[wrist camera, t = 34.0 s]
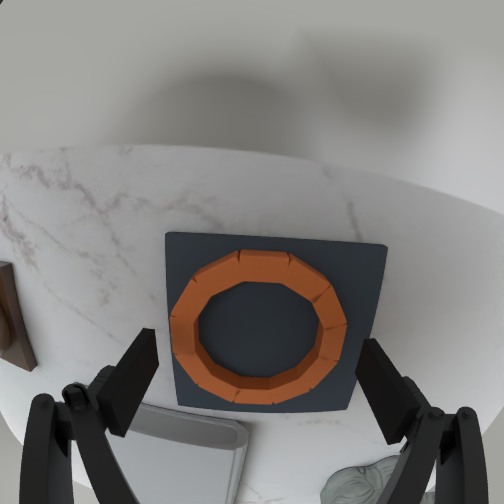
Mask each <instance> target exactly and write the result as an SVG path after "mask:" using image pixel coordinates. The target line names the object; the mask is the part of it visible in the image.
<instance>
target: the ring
mask: <svg viewBox="0 0 504 504" xmlns="http://www.w3.org/2000/svg"><path fill="white" fill-rule="evenodd" d="M243 281H250V282H268V283H282V284H284V285H285V286H287V287H288V288H290V289H292V290H293V291H295V292H296V293H298V294H300V295H301V296H303V297H304V298H306V299H308V300H309V301H311V302H312V304H313V307H314V309H315V311H316V313H317V315H318V318H319V324H318V330H317V336H316V341H315V346H314V347H313V348H312V349H311V351H310V352H309V353H308V354H307V355H306V356H305V357H304V358H303V360H302V361H301V362H300V363H299V364H298V365H297V366H296V367H294V368H292V369H289V370H287V371H284V372H282V373H279V374H277V375H274V376H272V377H269V378H265V377H243V376H239V375H237V374H235V373H233V372H231V371H229V370H227V369H225V368H223V367H221V366H219V365H217V364H215V363H214V362H213V360H212V359H211V358H210V356H209V355H208V353H207V352H206V350H205V349H204V347H203V346H202V345H201V343H200V342H199V327H198V316H199V314H200V313H201V311H202V310H203V308H204V307H205V305H206V304H207V302H208V301H209V299H210V298H211V296H213V295H216V294H218V293H220V292H222V291H224V290H226V289H228V288H231V287H233V286H235V285H237V284H239V283H241V282H243ZM346 322H347V320H346V318H345V315H344V313H343V310H342V308H341V305H340V303H339V301H338V298H337V296H336V293H335V291H334V288H333V286H332V285H331V284H330V282H329V281H328V280H327V279H326V277H325V276H324V275H323V274H321V273H320V272H318V271H317V270H315V269H314V268H312V267H311V266H309V265H308V264H306V263H305V262H303V261H302V260H300V259H298V258H297V257H295V256H294V255H292V254H291V253H289V255H287V253H286V252H280V251H262V250H245V249H242V250H241V252H240V253H239V251H238V250H237V251H234V252H232V253H230V254H228V255H226V256H224V257H222V258H220V259H218V260H216V261H214V262H212V263H210V264H208V265H206V266H204V267H202V268H200V269H199V270H198V272H195V274H194V275H193V277H192V278H191V280H190V282H189V283H188V285H187V287H186V288H185V290H184V292H183V293H182V295H181V297H180V298H179V300H178V302H177V303H176V305H175V307H174V309H173V310H172V312H171V316H170V325H171V337H172V348H173V353H175V355H174V356H175V357H176V359H177V360H178V361H179V363H180V364H181V365H182V367H183V368H184V369H185V371H186V372H187V373H188V375H189V376H190V377H191V379H192V380H193V381H194V382H195V384H198V383H199V384H198V386H199V387H201V388H203V389H205V390H207V391H209V392H211V393H213V394H215V395H217V396H219V397H221V398H223V399H225V400H228V401H230V402H232V401H233V400H234V402H235V403H245V404H272V402H274V403H275V404H277V403H280V402H282V401H285V400H288V399H291V398H293V397H296V396H298V395H301V394H303V393H306V392H308V391H310V388H311V389H313V388H314V387H315V386H316V385H317V384H318V383H319V382H320V381H321V380H322V379H323V378H324V377H325V376H326V375H327V374H328V373H329V372H330V371H331V370H332V369H333V367H334V366H335V365H336V364H337V363H338V362H337V360H339V358H340V354H341V350H342V346H343V342H344V337H345V333H346V328H347V324H346Z"/></svg>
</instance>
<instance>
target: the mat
mask: <svg viewBox="0 0 504 504" xmlns="http://www.w3.org/2000/svg"><path fill="white" fill-rule="evenodd" d="M242 249H245V250H262V251H280V252H286V253H287V255H289V253H291V254H292V255H294V256H295V257H297V258H298V259H300V260H302V261H303V262H305V263H306V264H308V265H309V266H311V267H312V268H314V269H315V270H317V271H318V272H320V273H321V274H323V275H324V276H325V277H326V279H327V280H328V281H329V282H330V284H331V285H332V286H333V288H334V291H335V293H336V296H337V298H338V301H339V303H340V305H341V308H342V310H343V313H344V315H345V318H346V320H347V322H346V324H347V328H346V333H345V337H344V342H343V346H342V350H341V354H340V358H339V360H337V362H338V363H337V364H336V365H335V366H334V367H333V369H332V370H331V371H330V372H329V373H328V374H327V375H326V376H325V377H324V378H323V379H322V380H321V381H320V382H319V383H318V384H317V385H316V386H315V387H314V388H313V389H311V388H310V391H308V392H306V393H303V394H301V395H298V396H296V397H293V398H291V399H288V400H285V401H282V402H280V403H277V404H275V403H274V402H272V404H245V403H235V402H234V400H233V401H232V402H230V401H228V400H225V399H223V398H221V397H219V396H217V395H215V394H213V393H211V392H209V391H207V390H205V389H203V388H201V387H199V386H198V384H199V383H198V384H195V382H194V381H193V380H192V379H191V377H190V376H189V375H188V373H187V372H186V371H185V369H184V368H183V367H182V365H181V364H180V363H179V361H178V360H177V359H176V357H175V356H174V355H175V353H173V348H172V337H171V325H170V316H171V312H172V310H173V309H174V307H175V305H176V303H177V302H178V300H179V298H180V297H181V295H182V293H183V292H184V290H185V288H186V287H187V285H188V283H189V282H190V280H191V278H192V277H193V275H194V274H195V272H198V270H199V269H200V268H202V267H204V266H206V265H208V264H210V263H212V262H214V261H216V260H218V259H220V258H222V257H224V256H226V255H228V254H230V253H232V252H234V251H237V250H238V251H239V253H240V252H241V250H242ZM387 250H388V247H387V246H385V245H382V244H369V243H355V242H341V241H327V240H312V239H296V238H280V237H263V236H245V235H226V234H207V233H186V232H168V233H166V234H165V258H166V287H167V305H168V320H169V332H170V343H171V353H172V363H173V371H174V380H175V387H176V395H177V401H178V405H180V406H187V407H195V408H203V409H213V410H224V411H237V412H258V413H304V412H324V411H338V410H347V407H348V404H349V402H350V399H351V396H352V393H353V390H354V387H355V384H356V381H357V377H356V375H355V370H356V366H357V363H358V360H359V356H360V353H361V349H362V345H363V342H364V339H369V337H370V333H371V330H372V326H373V322H374V317H375V313H376V309H377V304H378V300H379V295H380V290H381V285H382V280H383V274H384V269H385V263H386V257H387ZM318 324H319V318H318V315H317V313H316V311H315V309H314V307H313V304H312V302H311V301H309V300H308V299H306V298H304V297H303V296H301V295H300V294H298V293H296V292H295V291H293V290H292V289H290V288H288V287H287V286H285V285H284V284H282V283H268V282H250V281H243V282H241V283H239V284H237V285H235V286H233V287H231V288H228V289H226V290H224V291H222V292H220V293H218V294H216V295H213V296H211V298H210V299H209V301H208V302H207V304H206V305H205V307H204V308H203V310H202V311H201V313H200V314H199V316H198V327H199V342H200V343H201V345H202V346H203V347H204V349H205V350H206V352H207V353H208V355H209V356H210V358H211V359H212V360H213V362H214V363H215V364H217V365H219V366H221V367H223V368H225V369H227V370H229V371H231V372H233V373H235V374H237V375H239V376H243V377H265V378H269V377H272V376H274V375H277V374H279V373H282V372H284V371H287V370H289V369H292V368H294V367H296V366H297V365H298V364H299V363H300V362H301V361H302V360H303V358H304V357H305V356H306V355H307V354H308V353H309V352H310V351H311V349H312V348H313V347H314V346H315V341H316V336H317V330H318Z"/></svg>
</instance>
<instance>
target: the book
mask: <svg viewBox="0 0 504 504" xmlns="http://www.w3.org/2000/svg"><path fill="white" fill-rule="evenodd" d="M74 383H77V382H74ZM78 384H79V383H78ZM84 386H85V385H84ZM85 387H86V389H87V388H88V387H87V386H85ZM59 402H61V401H59ZM105 435H106V437H107V439H108V442H109V444H110V446H111V449H112V451H113V453H114V455H115V457H116V460H117V462H118V464H119V466H120V468H121V470H122V472H123V474H124V476H125V478H126V480H127V481H128V483H129V485H130V487H131V489H132V491H133V492H134V494H135V496H136V498H137V499H138V501H139V503H140V504H234V501H235V497H236V493H237V489H238V484H239V480H240V476H241V472H242V467H243V463H244V459H245V454H246V450H247V445H248V441H249V433H248V431H247V429H246V428H245V427H244V426H243V425H240V424H238V423H237V421H235V420H227V419H219V418H212V417H206V416H199V415H193V414H188V413H182V412H177V411H172V410H168V409H163V408H159V407H154V406H150V405H146V404H142V403H140V405H139V408H138V410H137V412H136V414H135V416H134V418H133V420H132V422H131V425H130V427H129V429H128V431H127V433H126V435H125V438H122V437H118V436H115V435H112V434H110V432H109V429H108V428H107V429H106V431H105ZM75 442H76V440H75ZM76 444H77V442H76Z"/></svg>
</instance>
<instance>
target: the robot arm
mask: <svg viewBox="0 0 504 504" xmlns="http://www.w3.org/2000/svg"><path fill="white" fill-rule="evenodd" d="M158 366H159V361H158V353H157V345H156V337H155V329H148V328H143V329H142V330H141V332H140V333H139V334H138V336H137V337H136V338H135V340H134V341H133V343H132V344H131V345H130V347H129V348H128V350H127V351H126V352H125V354H124V355H123V357H122V358H121V360H120V361H119V362H118V364H117V365H116V367H115V366H110V365H107V366H106V367H104V368H103V369H101V370H100V372H99V373H98V374H97V376H96V377H95V378H94V381H92V383H91V384H90V385H89V387H88V388H87V389H86V387H85V386H84V385H82V384H78V383H73V384H69V385H67V386H66V387H64V389H63V390H62V396H63V398H64V401H65V403H63V402H55V400H54V398H53V397H52V396H51V395H49V394H46V393H43V394H39V395H36V396H35V397H34V398H33V400H32V403H31V408H30V412H29V417H28V422H27V427H26V433H25V439H24V446H23V453H22V463H21V473H20V491H19V504H74V498H73V486H72V466H71V440H76V442H77V446H78V449H79V452H80V455H81V458H82V461H83V464H84V467H85V469H86V472H87V475H88V477H89V480H90V482H91V485H92V487H93V490H94V492H95V494H96V497H97V499H98V501H99V503H100V504H140V503H139V501H138V499H137V498H136V496H135V494H134V492H133V491H132V489H131V487H130V485H129V483H128V481H127V480H126V478H125V476H124V474H123V472H122V470H121V468H120V466H119V464H118V462H117V460H116V457H115V455H114V453H113V451H112V449H111V446H110V444H109V442H108V439H107V437H106V435H105V431H106V429H107V428H108V429H109V432H110V434H112V435H115V436H118V437H122V438H125V435H126V433H127V431H128V429H129V427H130V425H131V422H132V420H133V418H134V416H135V414H136V412H137V410H138V408H139V405H140V403H141V401H142V399H143V397H144V395H145V393H146V391H147V389H148V387H149V385H150V383H151V380H152V378H153V376H154V374H155V372H156V370H157V368H158ZM355 375H356V377H357V379H358V381H359V384H360V386H361V388H362V390H363V392H364V394H365V396H366V398H367V400H368V403H369V405H370V407H371V409H372V411H373V413H374V416H375V418H376V420H377V422H378V424H379V427H380V429H381V431H382V433H383V435H384V438H385V440H386V442H387V444H388V445H391V444H395V443H399V442H401V440H402V439H403V437H404V435H405V436H406V438H407V441H406V443H405V444H404V446H403V447H402V449H401V450H400V453H401V454H400V456H399V459H398V461H397V463H396V465H395V468H394V470H393V472H392V474H391V476H390V478H389V480H388V482H387V484H386V486H385V488H384V490H383V491H382V493H381V495H380V497H379V499H378V500H377V502H376V504H420V503H421V500H422V498H423V495H424V493H425V490H426V487H427V484H428V482H429V479H430V476H431V473H432V470H433V466H434V463H435V460H436V487H435V500H434V504H488V503H489V501H488V483H487V472H486V463H485V456H484V449H483V443H482V438H481V432H480V427H479V422H478V418H477V414H476V412H475V411H474V410H473V409H472V408H470V407H461V408H459V410H458V411H457V413H456V414H445V413H444V411H443V410H441V409H440V408H437V407H431V405H430V404H429V402H428V401H427V399H426V398H425V397H424V395H423V394H422V392H420V389H419V388H417V385H416V384H415V382H414V381H413V380H412V379H410V378H409V377H408V376H404V377H401V375H400V374H399V372H398V371H397V369H396V368H395V366H394V365H393V363H392V362H391V361H390V359H389V358H388V356H387V355H386V353H385V352H384V351H383V349H382V348H381V346H380V345H379V343H378V342H377V341H376V339H375V338H371V339H364V342H363V345H362V349H361V353H360V356H359V360H358V363H357V366H356V370H355Z"/></svg>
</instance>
